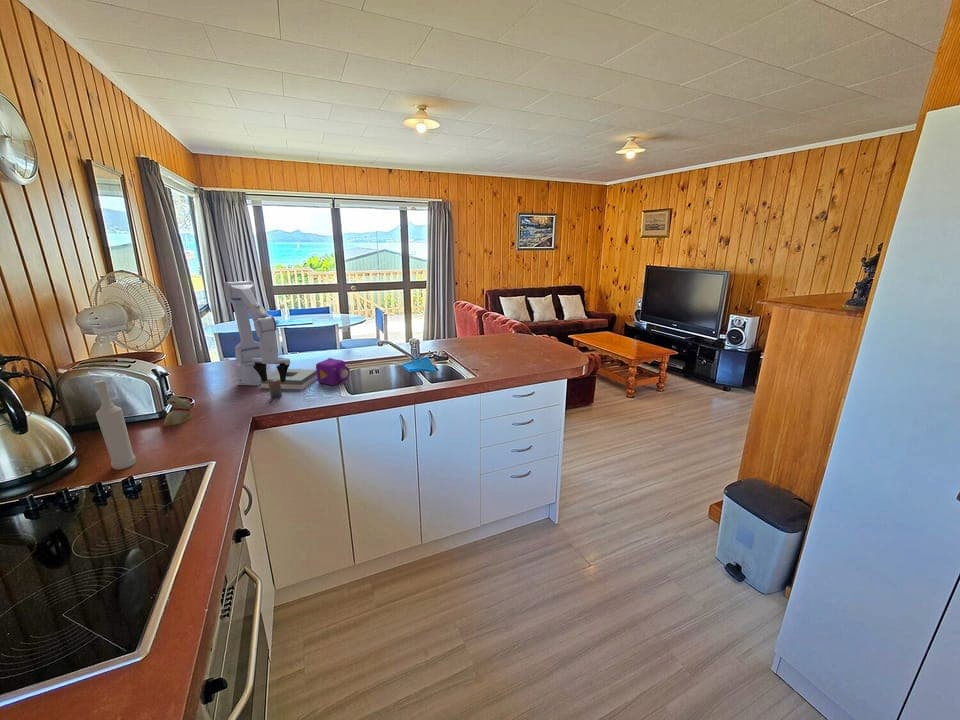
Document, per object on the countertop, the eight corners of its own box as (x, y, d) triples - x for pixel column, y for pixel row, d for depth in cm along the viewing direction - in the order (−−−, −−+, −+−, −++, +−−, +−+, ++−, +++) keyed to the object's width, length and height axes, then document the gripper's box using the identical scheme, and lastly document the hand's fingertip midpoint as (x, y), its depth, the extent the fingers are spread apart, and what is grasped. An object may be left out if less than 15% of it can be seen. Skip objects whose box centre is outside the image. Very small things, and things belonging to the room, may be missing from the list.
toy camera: (343, 387, 169) (341, 365, 166) (314, 385, 172) (311, 363, 169) (355, 379, 179) (353, 358, 176) (328, 377, 182) (326, 356, 179)
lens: (268, 398, 157) (265, 382, 154) (274, 394, 161) (271, 378, 158) (278, 399, 156) (275, 382, 154) (284, 395, 160) (282, 379, 158)
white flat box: (261, 387, 168) (260, 379, 167) (280, 376, 181) (278, 368, 180) (302, 389, 166) (301, 380, 165) (318, 378, 180) (317, 369, 179)
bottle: (122, 460, 113) (97, 378, 106) (141, 459, 114) (118, 377, 106) (107, 470, 108) (80, 384, 101) (127, 469, 109) (102, 384, 101)
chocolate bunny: (192, 421, 137) (186, 395, 134) (163, 427, 133) (157, 399, 130) (193, 416, 141) (187, 390, 138) (165, 421, 137) (159, 394, 134)
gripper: (244, 350, 149) (250, 384, 153) (281, 351, 148) (286, 385, 152) (255, 345, 156) (261, 378, 160) (291, 346, 155) (295, 379, 159)
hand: (274, 381), depth 156 cm, fingers open, 7 cm apart
